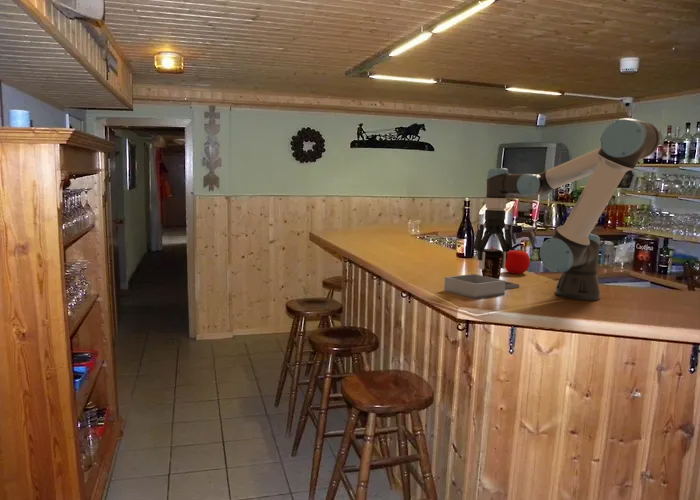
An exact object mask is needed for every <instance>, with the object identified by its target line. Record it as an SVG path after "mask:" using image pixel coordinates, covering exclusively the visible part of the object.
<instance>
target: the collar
mask: <svg viewBox="0 0 700 500" xmlns="http://www.w3.org/2000/svg"><path fill="white" fill-rule="evenodd" d="M504 281H505V290H510V289H511V290H512V289H517V288H520V284H519V283H514V282H511V281H510V282H509V281H506V280H504Z"/></svg>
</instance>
